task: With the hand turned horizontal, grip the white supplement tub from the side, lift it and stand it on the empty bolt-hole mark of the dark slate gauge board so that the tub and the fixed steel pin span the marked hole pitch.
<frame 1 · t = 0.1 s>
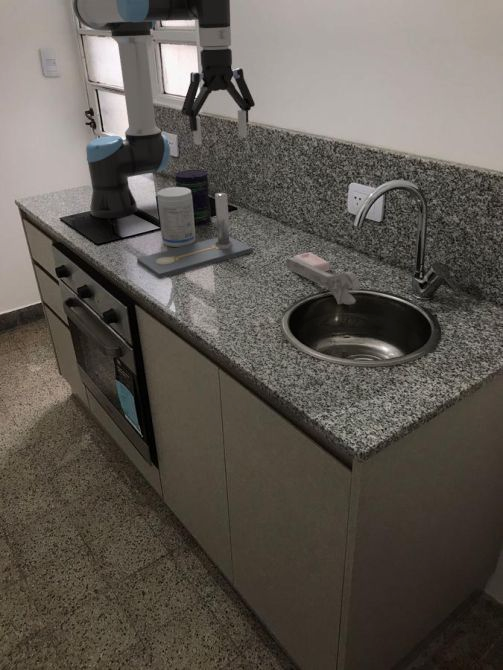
hand: (220, 140, 143), 28 cm above the worktop, tool pointing down, fingers open, 13 cm apart
soap bar: (311, 268, 141), on the worktop
steel pin: (223, 245, 152), resting on gauge board
gauge board: (195, 257, 149), on the worktop
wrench: (318, 289, 130), on the worktop
supplement tub: (179, 242, 159), on the worktop
storage jar: (195, 222, 174), on the worktop
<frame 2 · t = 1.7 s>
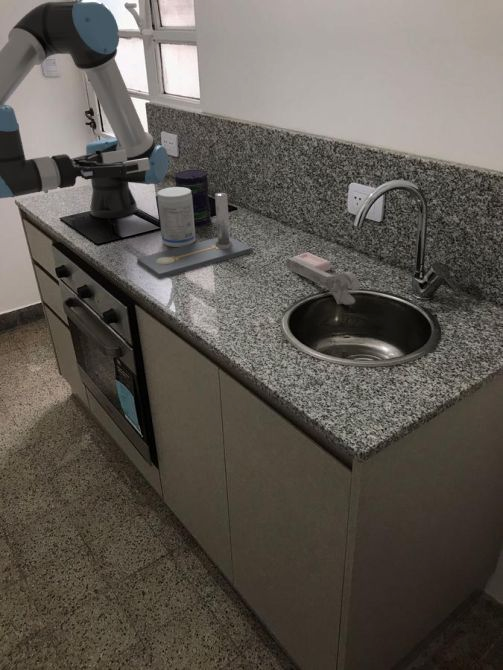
hand: (137, 159, 142), 25 cm above the worktop, tool horizontal, fingers open, 13 cm apart
nothing on the worktop moved.
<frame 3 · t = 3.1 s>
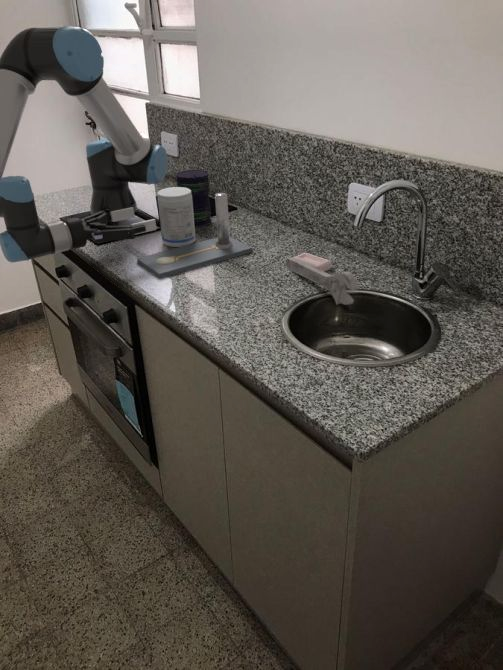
hand: (144, 218, 150), 9 cm above the worktop, tool horizontal, fingers open, 13 cm apart
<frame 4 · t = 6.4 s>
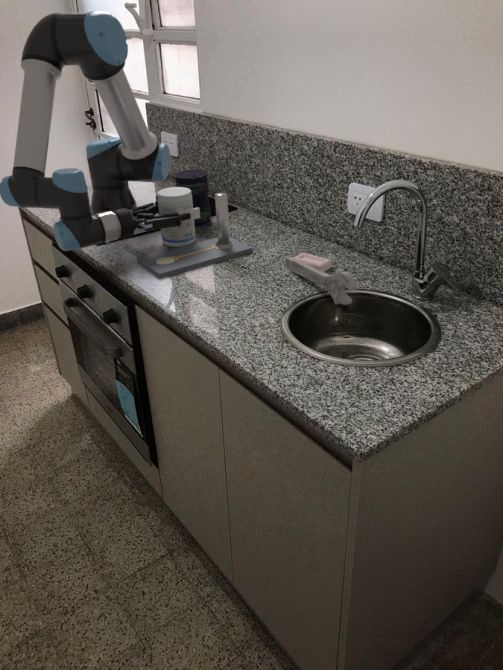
hand: (190, 208, 156), 9 cm above the worktop, tool horizontal, fingers closed on supplement tub, 9 cm apart
supplement tub: (179, 242, 159), on the worktop, touching gripper
when the fingers open (11 cm above the worktop, at t = 11.2 s): supplement tub drops 1 cm, resting on gauge board.
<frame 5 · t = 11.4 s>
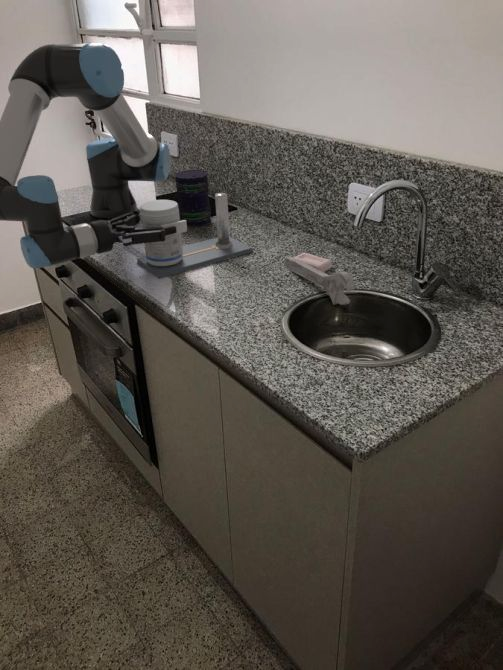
hand: (174, 219, 140), 11 cm above the worktop, tool horizontal, fingers open, 11 cm apart
supplement tub: (165, 261, 143), point 1 cm above the worktop, touching gauge board
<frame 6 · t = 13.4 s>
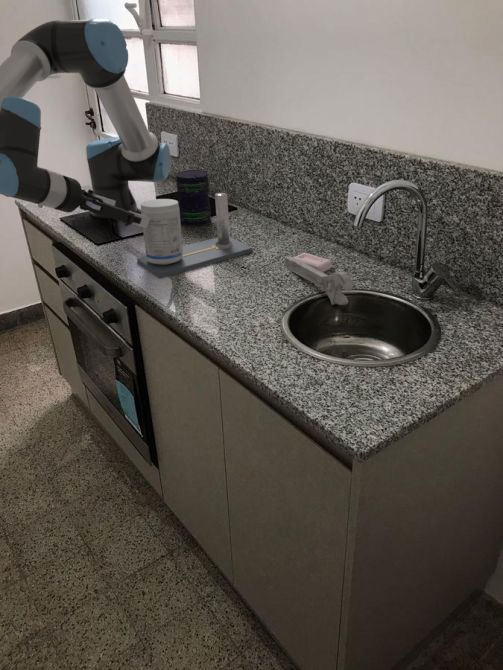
hand: (130, 214, 138), 14 cm above the worktop, tool tilted 60°, fingers open, 13 cm apart
supplement tub: (165, 260, 143), point 1 cm above the worktop, touching gauge board, gripper
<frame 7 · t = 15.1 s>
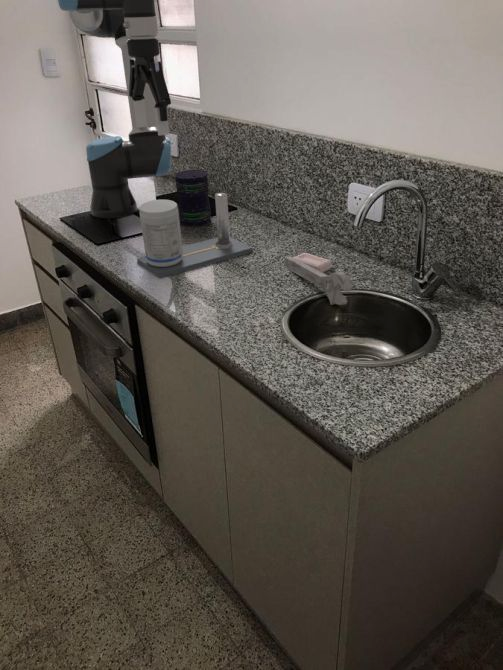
hand: (152, 130, 144), 31 cm above the worktop, tool pointing down, fingers open, 13 cm apart
supplement tub: (165, 261, 143), point 1 cm above the worktop, touching gauge board
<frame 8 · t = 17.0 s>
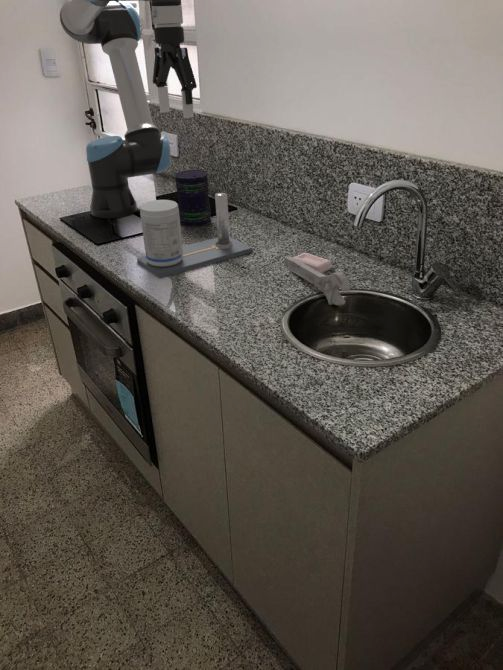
hand: (176, 114, 152), 33 cm above the worktop, tool pointing down, fingers open, 13 cm apart
at the end: supplement tub inside the target area (0.2 cm from its centre), point 1.2 cm above the worktop; supplement tub tilted 0°; the gripper is holding nothing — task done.
